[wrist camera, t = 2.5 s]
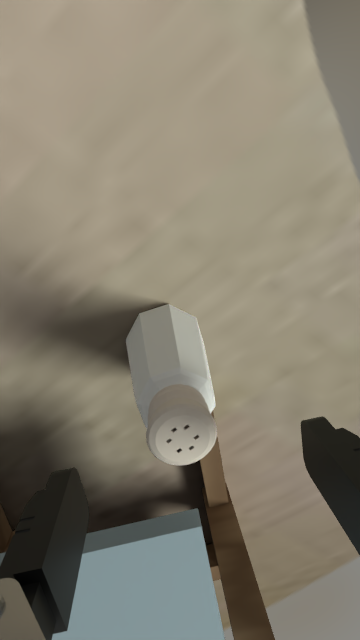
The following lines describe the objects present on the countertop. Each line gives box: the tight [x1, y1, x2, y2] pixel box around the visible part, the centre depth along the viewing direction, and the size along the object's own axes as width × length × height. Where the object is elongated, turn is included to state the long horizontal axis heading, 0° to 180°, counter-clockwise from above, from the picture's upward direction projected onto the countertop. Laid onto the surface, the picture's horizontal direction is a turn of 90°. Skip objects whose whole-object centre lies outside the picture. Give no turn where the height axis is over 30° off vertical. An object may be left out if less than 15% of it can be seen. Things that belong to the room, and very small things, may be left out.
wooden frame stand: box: [0, 410, 275, 640], centre depth 22 cm, size 19×16×11 cm
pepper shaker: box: [126, 304, 217, 465], centre depth 18 cm, size 5×5×11 cm
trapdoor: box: [0, 508, 225, 640], centre depth 20 cm, size 14×13×7 cm
